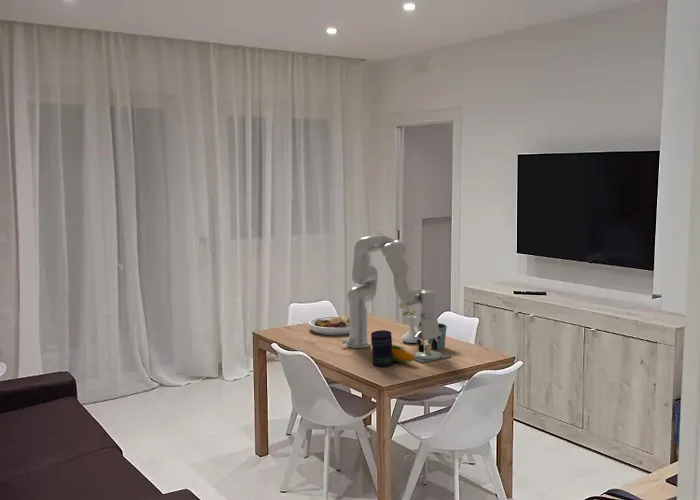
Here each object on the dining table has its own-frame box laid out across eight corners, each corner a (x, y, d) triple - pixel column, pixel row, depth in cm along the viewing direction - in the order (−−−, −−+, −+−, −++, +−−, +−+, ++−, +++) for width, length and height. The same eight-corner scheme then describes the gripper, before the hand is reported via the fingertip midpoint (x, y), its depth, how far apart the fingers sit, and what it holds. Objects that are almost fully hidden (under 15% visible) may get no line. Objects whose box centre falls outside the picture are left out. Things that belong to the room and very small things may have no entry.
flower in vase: (416, 338, 365) (417, 293, 362) (426, 343, 354) (426, 297, 351) (395, 340, 360) (395, 295, 357) (403, 345, 350) (404, 299, 347)
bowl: (302, 327, 394) (302, 314, 393) (348, 322, 406) (348, 309, 405) (319, 338, 367) (319, 324, 366) (369, 333, 378) (369, 319, 378)
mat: (422, 363, 317) (422, 362, 317) (404, 356, 329) (404, 355, 329) (451, 357, 327) (451, 356, 327) (432, 351, 339) (432, 350, 339)
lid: (425, 361, 319) (426, 349, 318) (409, 355, 330) (409, 343, 329) (446, 357, 326) (446, 345, 325) (429, 351, 337) (429, 339, 336)
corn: (386, 341, 329) (420, 348, 316) (385, 356, 329) (419, 364, 317) (377, 343, 323) (411, 350, 310) (376, 358, 323) (410, 366, 311)
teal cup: (429, 344, 352) (429, 322, 350) (448, 346, 348) (448, 323, 347) (425, 349, 342) (425, 326, 341) (444, 351, 339) (444, 328, 337)
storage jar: (397, 362, 316) (395, 332, 313) (382, 368, 309) (380, 338, 306) (383, 358, 323) (381, 328, 320) (368, 364, 317) (366, 334, 314)
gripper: (418, 319, 318) (418, 355, 320) (446, 314, 327) (446, 349, 329) (409, 316, 324) (409, 351, 326) (436, 312, 333) (436, 346, 335)
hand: (427, 350), depth 328 cm, fingers open, 7 cm apart
